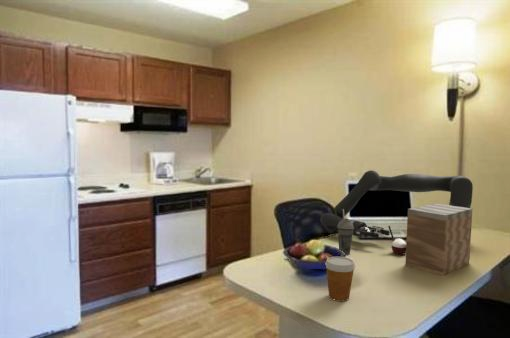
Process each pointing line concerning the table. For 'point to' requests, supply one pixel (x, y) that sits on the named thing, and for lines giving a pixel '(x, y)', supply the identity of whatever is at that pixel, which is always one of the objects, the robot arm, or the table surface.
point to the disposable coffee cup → (339, 277)
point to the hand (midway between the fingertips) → (383, 234)
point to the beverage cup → (345, 235)
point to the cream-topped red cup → (398, 245)
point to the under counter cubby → (438, 237)
